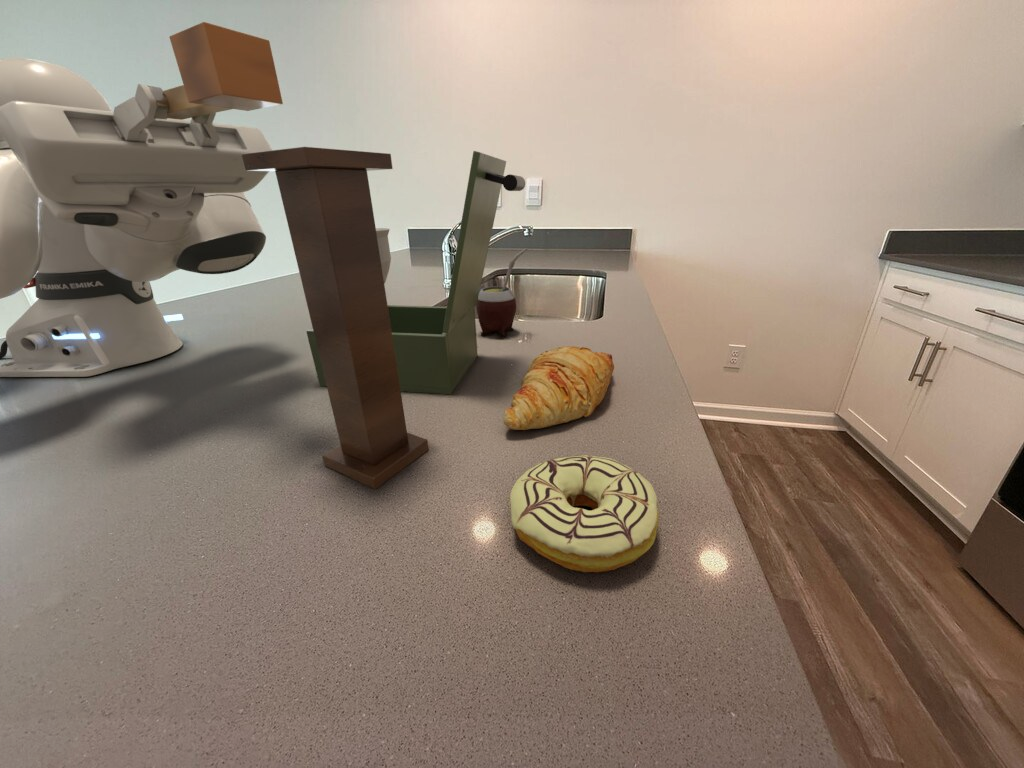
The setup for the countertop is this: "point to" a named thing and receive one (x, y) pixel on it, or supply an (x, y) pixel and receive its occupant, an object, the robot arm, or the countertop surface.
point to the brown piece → (221, 72)
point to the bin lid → (476, 233)
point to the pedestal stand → (346, 303)
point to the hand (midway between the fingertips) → (179, 97)
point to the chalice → (384, 250)
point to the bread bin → (424, 348)
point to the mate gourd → (497, 307)
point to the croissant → (560, 388)
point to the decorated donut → (585, 512)
